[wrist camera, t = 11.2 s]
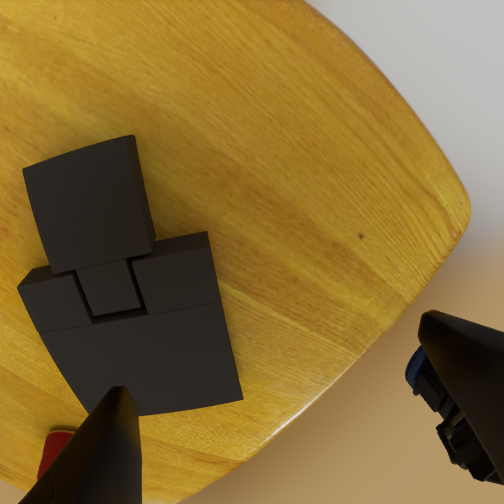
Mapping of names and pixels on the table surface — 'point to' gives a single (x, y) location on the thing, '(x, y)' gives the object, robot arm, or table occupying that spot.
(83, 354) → the large pad
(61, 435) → the soda can
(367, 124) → the table surface
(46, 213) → the dark grey tabbed block
